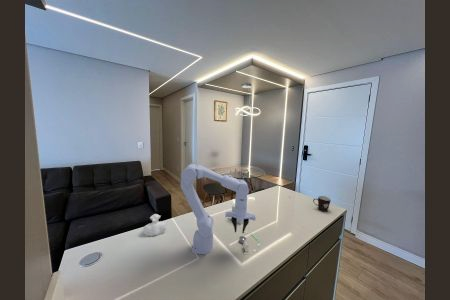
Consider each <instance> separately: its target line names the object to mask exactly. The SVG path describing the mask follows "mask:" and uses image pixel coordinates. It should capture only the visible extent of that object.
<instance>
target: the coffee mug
mask: <svg viewBox="0 0 450 300" xmlns="http://www.w3.org/2000/svg"><path fill="white" fill-rule="evenodd" d="M312 200H313V201H312V202H313V203H315V201H316V200H317V203H315V206H317V209H318V210H319V212H322V213H327V212H328V211H329V208H330V205H331V201H332V199H331V198H330V197H329V196H326V195H318V196H317V198H313V199H312Z"/></svg>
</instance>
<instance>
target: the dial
mask: <svg viewBox="0 0 450 300" xmlns="http://www.w3.org/2000/svg"><path fill="white" fill-rule="evenodd" d="M244 233H245V234H248V233H249V232H248V231H246V230H244ZM244 233H243V234H244ZM250 236H252V237H253V238H255V241H256V242H257V247H261V246H260V240H259V238H258V237H257V236H256V235H254V234H253V233H250ZM257 251H258V250H257V249H253V250H252V252H253V253H256V252H257ZM243 255H249V251H248V252H245V251H244V252H243Z"/></svg>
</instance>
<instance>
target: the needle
mask: <svg viewBox="0 0 450 300" xmlns="http://www.w3.org/2000/svg"><path fill="white" fill-rule="evenodd" d="M238 238H239V240H238V242H239V243H240V244H242V247H243V250H244V252H248V253H249V249H250V248H249V247H250V244H249V243H248V240H247V237H246V236H240V237H238Z"/></svg>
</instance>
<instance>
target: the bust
mask: <svg viewBox="0 0 450 300" xmlns="http://www.w3.org/2000/svg"><path fill="white" fill-rule="evenodd" d="M161 216H162V215H159V214H157V213H154V214H152V215H151V216H150V217H149V219H150V220H151V221H152V222H151V223H148V224H146V225H144V227H143V232H144V235H145V236H148V237H153V236H160V235H161V234H163V233H165V232H166V230H167V225H168V224H167V223H166V222H163V221H159V219H161Z"/></svg>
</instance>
